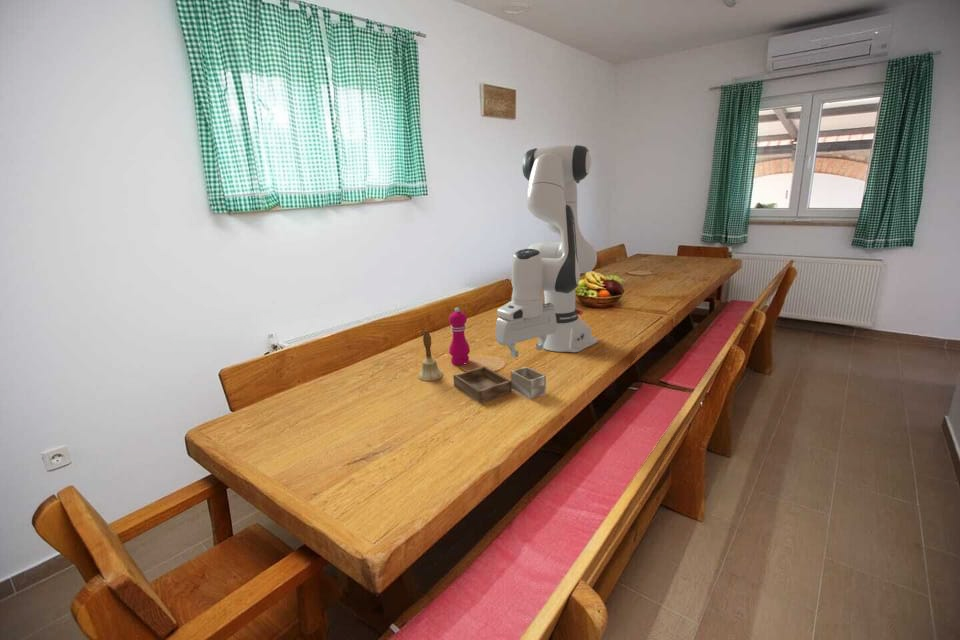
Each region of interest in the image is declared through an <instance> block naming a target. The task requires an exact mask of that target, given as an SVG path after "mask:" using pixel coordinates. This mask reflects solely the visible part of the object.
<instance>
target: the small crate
mask: <svg viewBox="0 0 960 640" xmlns="http://www.w3.org/2000/svg"><path fill="white" fill-rule="evenodd" d="M546 378H547V377H546V375H544V374H543V373H541V372H539V371H536V370H535V369H532V368H531V367H528V366H523V367H519V368H517V369H513V370H510V381H511V383H512V391H514V392H516V393H517V394H520V396H522V397H525V398H526V399H528V400H533V399H536V398H538V397H541V396H543V395H546V393H547V390H546V389H547V387H546V386H547V383H546V382H547V381H546V380H547V379H546Z"/></svg>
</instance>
